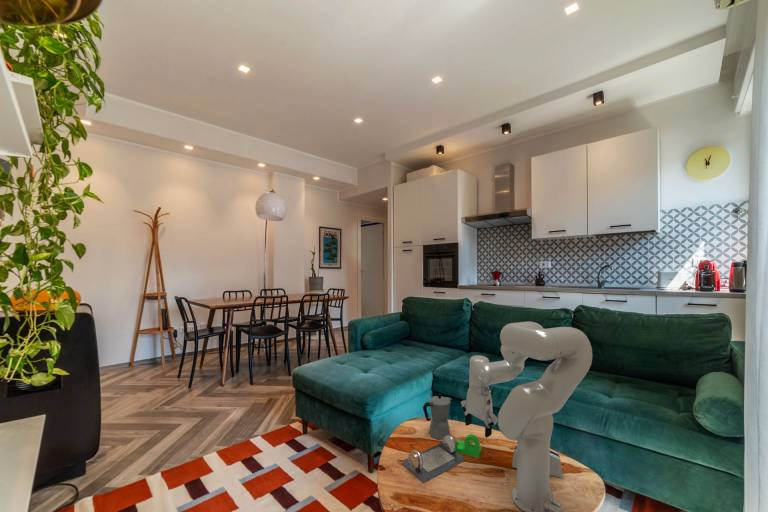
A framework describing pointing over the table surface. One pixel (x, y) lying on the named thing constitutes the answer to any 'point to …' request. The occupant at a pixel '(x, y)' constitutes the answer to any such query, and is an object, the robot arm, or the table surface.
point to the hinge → (554, 463)
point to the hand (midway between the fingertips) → (478, 430)
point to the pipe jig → (434, 459)
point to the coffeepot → (438, 416)
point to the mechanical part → (469, 446)
